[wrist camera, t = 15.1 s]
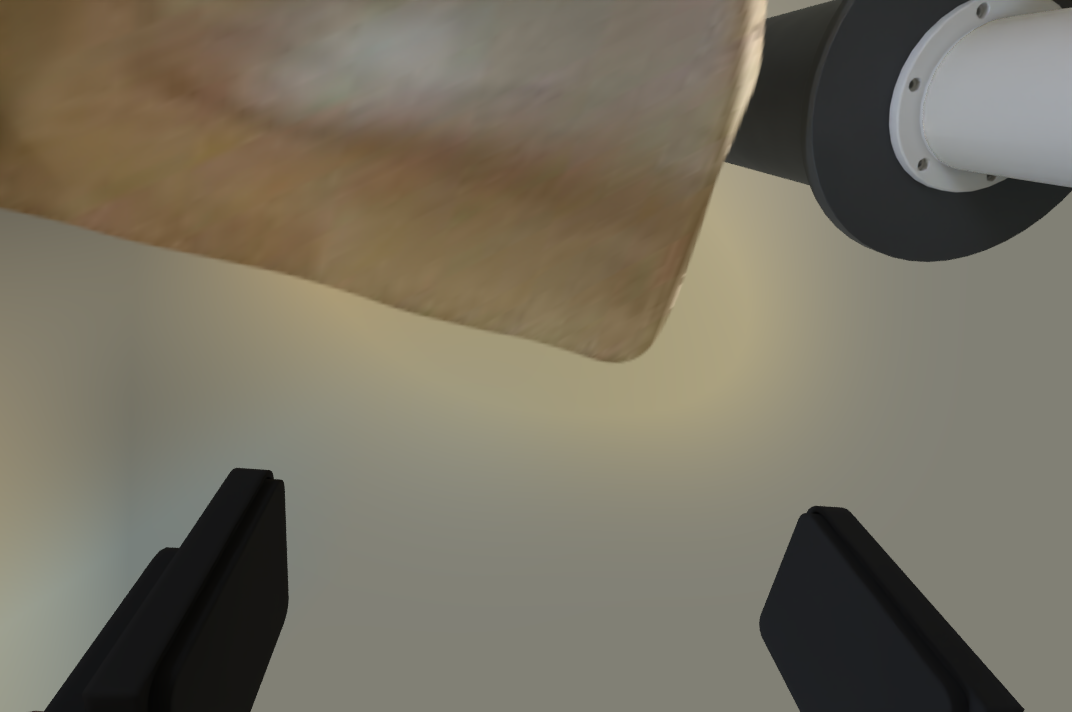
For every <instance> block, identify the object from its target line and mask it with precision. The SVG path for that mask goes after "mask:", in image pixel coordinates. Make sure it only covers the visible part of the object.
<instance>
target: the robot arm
mask: <svg viewBox="0 0 1072 712" xmlns="http://www.w3.org/2000/svg"><path fill="white" fill-rule="evenodd" d="M889 130H890V138H891V144H892V147H893V149H894V152H895V155H896V158H897V159H898V161H899V162H900V164H901V166H902V167H903V169H904V170H905V171H906V172H907V173H908V174H909V175H910V176H911V177H912V178H913V179H914V180H916V181H918V182H920V183H922V184H923V185H925V186H927V187H931V188H935V189H938V190H943V191H950V192H970V191H975V190H979V189H983V188H987V187H990V186H992V185H994V184H996V183H998V182H1001V181H1003V180H1005V179H1006V178H1015V179H1021V180H1028V181H1034V182H1041V183H1047V184H1053V185H1060V186H1066V187H1072V7H1071V8H1065V9H1062V8H1061V7H1060V6H1059V5H1058V4H1057V3H1055V2H1054V1H1052V0H970V1H968V2H966V3H963V4H961V5H959V6H958V7H956V8H955V9H953V10H952V11H950V12H949V13H948V14H946V15H945V16H943V17H942V18H941V19H940V20H939V21H938V22H937V23H936V24H935V25H933V26H932V27H931V28H930V29H929V30H928V31H927V32H926V33H925V35H924V36H923V37H922V38H921V40H920V41H919V42H918V44H917V45H916V46H915V47H914V49H913V50H912V52H911V53H910V55H909V57H908V59H907V60H906V62H905V64H904V66H903V68H902V69H901V72H900V75H899V77H898V80H897V82H896V85H895V87H894V91H893V96H892V100H891V105H890V114H889ZM288 599H289V596H288V569H287V541H286V515H285V489H284V482H283V480H278V479H277V480H276V479H274V477H273V473H272V471H270V470H260V469H245V468H235V469H233V470H232V471H231V472H230V474H229V475H228V477H227V478H226V479H225V481H224V482H223V484H222V485H221V487H220V489H219V490H218V491H217V493H216V494H215V496H214V497H213V499H212V500H211V502H210V503H209V505H208V506H207V508H206V509H205V511H204V512H203V514H202V515H201V517H200V518H199V520H198V521H197V523H196V524H195V526H194V527H193V529H192V530H191V532H190V533H189V535H188V536H187V538H186V539H185V540H184V542H183V543H182V545H181V547H180V548H168V547H166V548H165V549H162V550H161V551H159V552H158V554H157V555H156V556H155V557H154V558H153V559H152V561H151V562H150V563H149V565H148V566H147V568H146V569H145V570H144V572H143V573H142V575H141V576H140V578H139V579H138V581H137V582H136V583H135V585H134V586H133V587H132V589H131V590H130V591H129V593H128V594H127V596H126V597H125V598H124V600H123V601H122V603H121V604H120V606H119V607H118V608H117V610H116V611H115V612H114V614H113V615H112V617H111V618H110V620H109V621H108V622H107V624H106V625H105V627H104V628H103V629H102V631H101V632H100V634H99V635H98V636H97V638H96V639H95V641H94V642H93V643H92V645H91V646H90V648H89V649H88V650H87V652H86V653H85V655H84V656H83V657H82V659H81V660H80V662H79V663H78V664H77V666H76V667H75V669H74V670H73V671H72V673H71V674H70V676H69V677H68V678H67V680H66V681H65V683H64V684H63V685H62V687H61V688H60V690H59V691H58V692H57V694H56V695H55V697H54V698H53V699H52V701H51V702H50V704H49V705H48V706H47V708H46V709H45V711H44V712H250V711H251V709H252V706H253V703H254V701H255V698H256V695H257V693H258V690H259V688H260V685H261V682H262V680H263V677H264V674H265V672H266V669H267V666H268V664H269V661H270V658H271V656H272V653H273V651H274V648H275V645H276V643H277V640H278V637H279V635H280V632H281V629H282V627H283V624H284V621H285V618H286V614H287V609H288ZM759 625H760V632H761V636H762V638H763V640H764V642H765V644H766V646H767V648H768V650H769V652H770V654H771V656H772V658H773V659H774V661H775V663H776V665H777V667H778V669H779V671H780V673H781V675H782V677H783V679H784V681H785V683H786V685H787V687H788V689H789V691H790V692H791V695H792V696H793V698H794V700H795V702H796V704H797V706H798V708H799V710H800V712H1023V711H1024V708H1023V707H1022V706H1021V705H1020V704H1019V703H1018V702H1017V700H1015V698H1014V697H1013V696H1012V695H1011V694H1010V693H1009V692H1008V690H1007V689H1006V688H1005V687H1004V686H1003V685H1002V683H1001V682H1000V681H999V680H998V679H997V678H996V677H995V676H994V675H993V673H992V672H991V671H990V670H989V669H988V668H987V667H986V665H985V664H984V663H983V662H982V661H981V660H980V658H979V657H978V656H977V655H976V654H975V653H974V652H973V651H972V649H971V648H970V647H969V646H968V645H967V644H966V643H965V641H963V639H962V638H961V637H960V636H959V635H958V634H957V632H956V631H955V630H954V629H953V628H952V627H951V626H950V625H949V623H948V622H947V621H946V620H945V619H944V618H943V617H942V615H941V614H940V613H939V612H938V611H937V610H936V609H935V607H934V606H933V605H932V604H931V603H930V602H929V601H928V600H927V598H926V597H925V596H924V595H923V594H922V593H921V592H920V590H919V589H918V588H917V587H916V586H915V585H914V584H913V582H912V581H911V580H910V579H909V578H908V577H907V576H906V575H905V573H904V572H903V571H902V570H901V569H900V568H899V567H898V565H897V564H896V563H895V562H894V561H893V560H892V559H891V558H890V556H889V555H888V554H887V553H886V552H885V551H884V550H883V549H882V547H881V546H880V545H879V544H878V543H877V542H876V541H875V539H874V538H873V537H872V536H871V535H870V534H869V533H868V532H867V530H866V529H865V528H864V527H863V526H862V525H861V524H860V523H859V521H858V520H857V519H856V518H855V517H854V516H853V515H852V513H851V512H849V511H848V510H847V509H845V508H840V507H825V506H824V507H823V506H814V507H811V508H810V509H809V510H808V511H807V513H804V514H802V515H801V516H800V518H799V519H798V522H797V525H796V527H795V530H794V532H793V535H792V537H791V540H790V542H789V545H788V547H787V550H786V552H785V555H784V558H783V560H782V563H781V565H780V568H779V571H778V573H777V575H776V578H775V580H774V583H773V585H772V588H771V590H770V593H769V596H768V598H767V600H766V603H765V606H764V608H763V611H762V613H761V616H760V622H759ZM32 712H43V711H32Z"/></svg>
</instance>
